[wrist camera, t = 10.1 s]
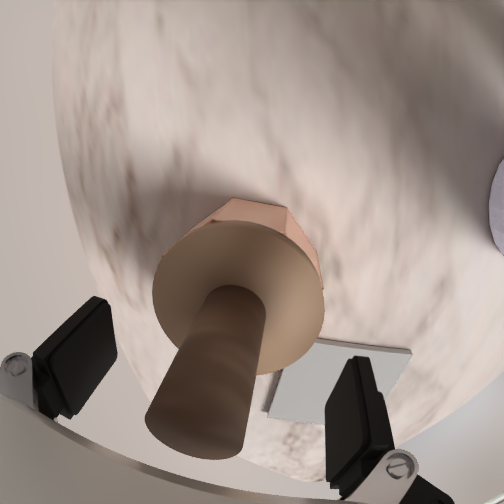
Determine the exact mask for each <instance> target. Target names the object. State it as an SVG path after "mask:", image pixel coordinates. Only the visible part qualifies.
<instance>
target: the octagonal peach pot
mask: <svg viewBox="0 0 504 504" xmlns="http://www.w3.org/2000/svg"><path fill="white" fill-rule="evenodd" d="M226 220H240V221H248V222H254V223H257V224H261V225H264V226H267V227H269V228H272V229H274V230H276V231H278V232H280V233H282V234H284V235H285V236H287V237H288V238H289V239H291V240H292V241H293V242H295V243H296V244H297V245H298V246H299V247H300V248H301V249H302V250H303V251H304V252H305V253H306V255H307V256H308V257H309V259H310V260H311V262H312V263H313V265H314V267H315V269H316V271H317V273H318V276H319V278H320V282H321V286H322V291H323V289H324V288H323V282H322V277H321V271H320V266H319V261H318V256H317V251H316V250H315V248H314V247H313V245H312V244H311V242H310V241H309V239H308V238H307V236H306V235H305V233H304V232H303V230H302V229H301V227H300V226H299V225H298V223H297V222H296V220H295V219H294V217H293V216H292V214H291V213H290V211H289V210H288V208H287V207H286V208H285V207H280V206H275V205H269V204H264V203H258V202H253V201H247V200H242V199H236V198H232V199H231V200H230V201H229V202H227V203H226V204H224V205H223V206H222V207H220V208H219V209H218V210H216V211H215V212H213V213H212V214H211V215H209V216H208V217H207V218H205V219H204V220H203V221H201V222H200V223H199V224H197V225H196V226H195V227H193V228H192V229H190V230H189V231H188V232H187V233H186V234H185V235H187V234H188V233H190V232H191V231H193V230H195V229H197V228H199V227H201V226H203V225H207V224H210V223H214V222H219V221H226ZM185 235H184V236H185ZM184 236H183V237H184ZM183 237H182V238H183ZM182 238H181V239H182ZM181 239H180V240H181ZM178 241H179V240H178ZM178 241H177V242H178ZM177 242H176V243H177ZM176 243H175V244H176ZM175 244H174V245H175ZM174 245H173V246H174ZM173 246H172V247H173ZM172 247H171V248H172ZM171 248H170V249H171ZM170 249H169V250H170ZM169 250H168V251H169ZM168 251H167V252H168ZM167 252H166V253H167ZM166 253H165V254H163V256H162V257H164V256H165V255H166Z"/></svg>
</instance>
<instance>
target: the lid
mask: <svg viewBox="0 0 504 504" xmlns="http://www.w3.org/2000/svg"><path fill="white" fill-rule="evenodd" d="M152 296H153V305H154V309H155V313H156V316H157V319H158V321H159V323H160V325H161V327H162V329H163V331H164V332H165V334H166V335H167V336H168V338H169V339H170V340H171V341H172V343H173V344H174V345H175V346H176V347H177V348H178V349H179V350H178V352H177V354H176V356H175V358H174V360H173V362H172V364H171V366H170V368H169V370H168V372H167V373H166V375H165V377H164V379H163V381H162V383H161V385H160V387H159V389H158V391H157V393H156V395H155V397H154V399H153V401H152V403H151V405H150V407H149V409H148V411H147V413H146V415H145V423H146V426H147V428H148V429H149V431H150V432H151V433H152V434H153V435H154V436H155V437H156V438H157V439H158V440H159V441H161V442H162V443H164V444H165V445H166V446H168V447H170V448H172V449H174V450H176V451H178V452H180V453H183V454H186V455H189V456H192V457H196V458H201V459H210V460H219V459H227V458H230V457H233V456H235V455H237V454H238V453H239V452H240V451H241V450H242V448H243V443H244V437H245V432H246V427H247V422H248V417H249V411H250V406H251V400H252V395H253V390H254V384H255V378H256V375H263V374H268V373H272V372H275V371H278V370H281V369H283V368H285V367H287V366H289V365H291V364H293V363H294V362H296V361H297V360H299V359H300V358H301V357H302V356H303V355H305V354H306V353H307V352H308V350H309V349H310V348H311V347H312V346H313V344H314V343H315V341H316V339H317V338H318V335H319V333H320V331H321V328H322V324H323V320H324V311H325V308H324V297H323V291H322V286H321V282H320V278H319V276H318V273H317V271H316V269H315V267H314V265H313V263H312V262H311V260H310V259H309V257H308V256H307V255H306V253H305V252H304V251H303V250H302V249H301V248H300V247H299V246H298V245H297V244H296V243H295V242H293V241H292V240H291V239H289V238H288V237H287V236H285V235H284V234H282V233H280V232H278V231H276V230H274V229H272V228H269V227H267V226H264V225H261V224H257V223H254V222H248V221H240V220H226V221H219V222H214V223H210V224H207V225H203V226H201V227H199V228H197V229H195V230H193V231H191V232H190V233H188V234H187V235H185V236H184V237H183V238H182V239H181V240H179V241H178V242H177V243H176V244H175V245H174V246H173V247H172V248H171V249H170V250H169V251H168V252H167V253H166V255H165V256H164V257H163V259H162V260H161V262H160V264H159V266H158V268H157V271H156V273H155V276H154V281H153V289H152Z"/></svg>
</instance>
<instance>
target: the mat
mask: <svg viewBox="0 0 504 504" xmlns="http://www.w3.org/2000/svg"><path fill="white" fill-rule="evenodd" d="M355 355H357V356H365V357H369V358H370V361H371V365H372V369H373V373H374V377H375V381H376V385H377V389H378V391H380V392H381V393H382V394H383V396H384V400H385V399H386V398H387V396H388V395H389V393H390V392H391V390H392V388H393V387H394V385H395V384H396V382H397V380H398V379H399V377H400V376H401V374H402V372H403V371H404V369H405V367H406V365H407V364H408V362H409V360H410V358H411V357H412V355H413V354H412V352H411V350H405V349H395V348H386V347H377V346H369V345H361V344H353V343H346V342H339V341H332V340H325V339H319V338H317V339H316V341H315V343H314V344H313V346H312V347H311V348H310V349H309V350H308V352H307V353H306V354H305V355H303V356H302V357H301V358H300V359H299V360H297V361H296V362H294V363H293V364H291V365H289V366H287V367H285V368H283V369H282V372H281V376H280V379H279V382H278V385H277V388H276V391H275V394H274V397H273V400H272V402H271V405H270V408H269V411H268V416H267V418H272V419H278V420H285V421H293V422H301V423H310V424H320V425H325V412H324V411H325V404H326V402H327V400H328V398H329V396H330V394H331V392H332V390H333V388H334V386H335V384H336V382H337V380H338V378H339V376H340V374H341V372H342V370H343V368H344V366H345V364H346V362H347V360H348V359H349V358H350V359H352V358H353V356H355Z"/></svg>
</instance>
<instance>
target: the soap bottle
mask: <svg viewBox="0 0 504 504" xmlns="http://www.w3.org/2000/svg"><path fill="white" fill-rule="evenodd" d="M489 225H490V228H491V231H492V235H493V238H494V242H495V244H496V245H497V247H498V248H499V250H500V251H501V252H502V254H503V255H504V159H503V160H502V162H501V163H500V164H499V166H498V169H497V171H496V174H495V177H494V179H493V182H492V186H491V193H490V199H489Z"/></svg>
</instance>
